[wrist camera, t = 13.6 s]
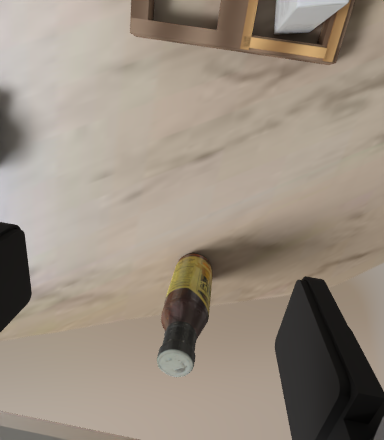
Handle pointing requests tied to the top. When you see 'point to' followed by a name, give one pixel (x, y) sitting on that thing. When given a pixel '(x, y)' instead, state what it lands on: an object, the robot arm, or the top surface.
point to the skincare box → (303, 14)
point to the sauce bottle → (185, 314)
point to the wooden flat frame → (243, 32)
